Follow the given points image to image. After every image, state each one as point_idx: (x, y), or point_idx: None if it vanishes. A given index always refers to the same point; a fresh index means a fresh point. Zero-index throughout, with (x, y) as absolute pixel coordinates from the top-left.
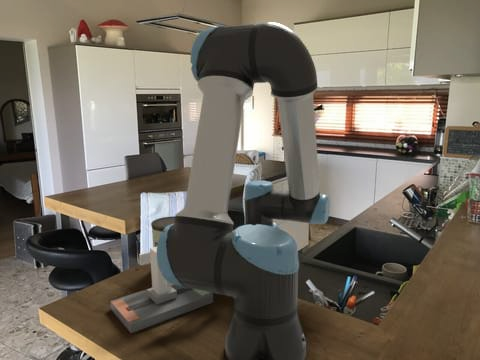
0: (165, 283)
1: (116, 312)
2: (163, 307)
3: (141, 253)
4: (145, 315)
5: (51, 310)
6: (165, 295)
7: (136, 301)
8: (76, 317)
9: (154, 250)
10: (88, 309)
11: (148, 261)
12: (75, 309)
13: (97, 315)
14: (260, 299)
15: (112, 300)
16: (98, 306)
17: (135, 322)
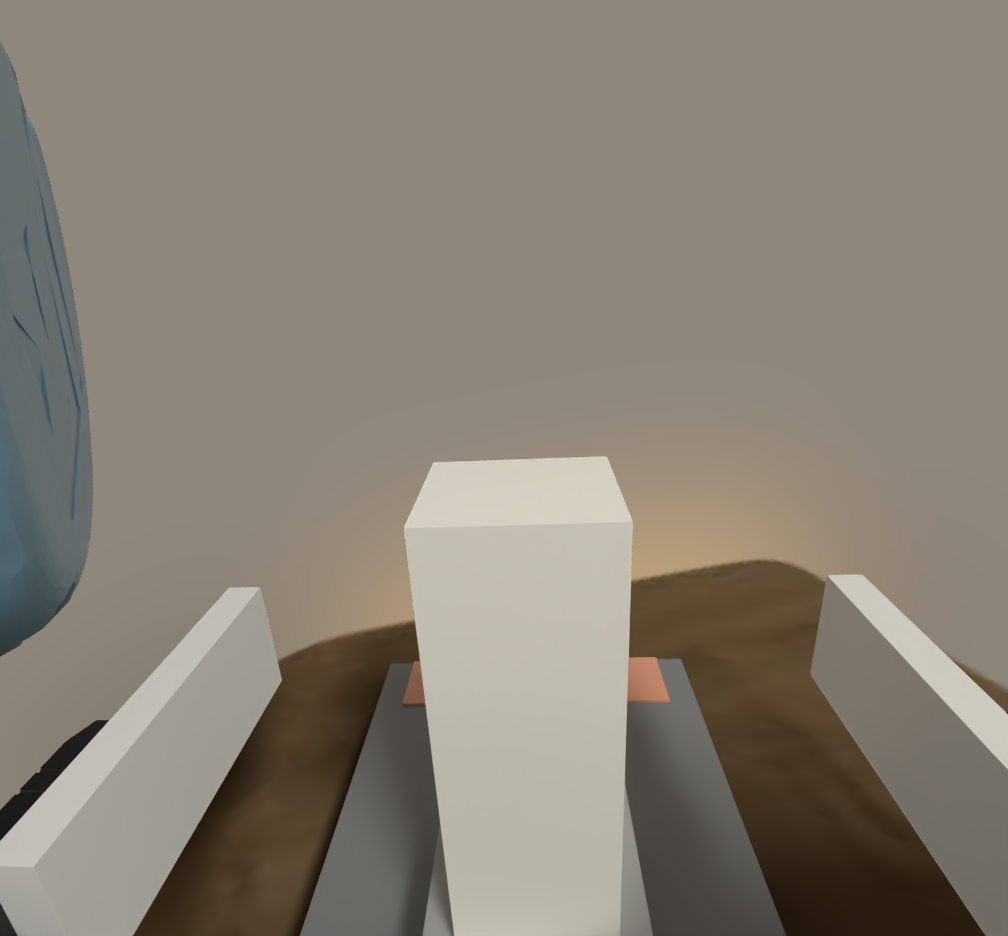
0: (275, 664)
1: None
2: (392, 860)
3: (871, 587)
4: (403, 735)
5: (769, 563)
6: (435, 866)
7: None
8: (670, 601)
9: (512, 463)
10: (722, 636)
11: (855, 716)
12: (744, 608)
13: (645, 649)
14: None
15: (681, 666)
16: (736, 668)
17: (388, 682)
